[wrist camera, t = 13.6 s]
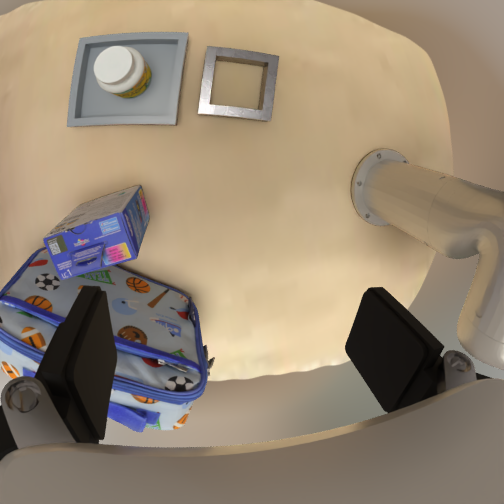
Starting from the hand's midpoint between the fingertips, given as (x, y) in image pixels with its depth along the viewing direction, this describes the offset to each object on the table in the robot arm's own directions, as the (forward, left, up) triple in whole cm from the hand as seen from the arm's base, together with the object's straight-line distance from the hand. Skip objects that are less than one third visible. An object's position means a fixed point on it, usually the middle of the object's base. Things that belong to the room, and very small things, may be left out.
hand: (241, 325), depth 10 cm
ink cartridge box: (+12, +5, -31) cm, 33 cm away
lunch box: (+12, +17, -31) cm, 37 cm away
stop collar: (-3, -13, -30) cm, 33 cm away
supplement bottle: (+10, -13, -30) cm, 34 cm away
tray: (+11, -13, -30) cm, 35 cm away
